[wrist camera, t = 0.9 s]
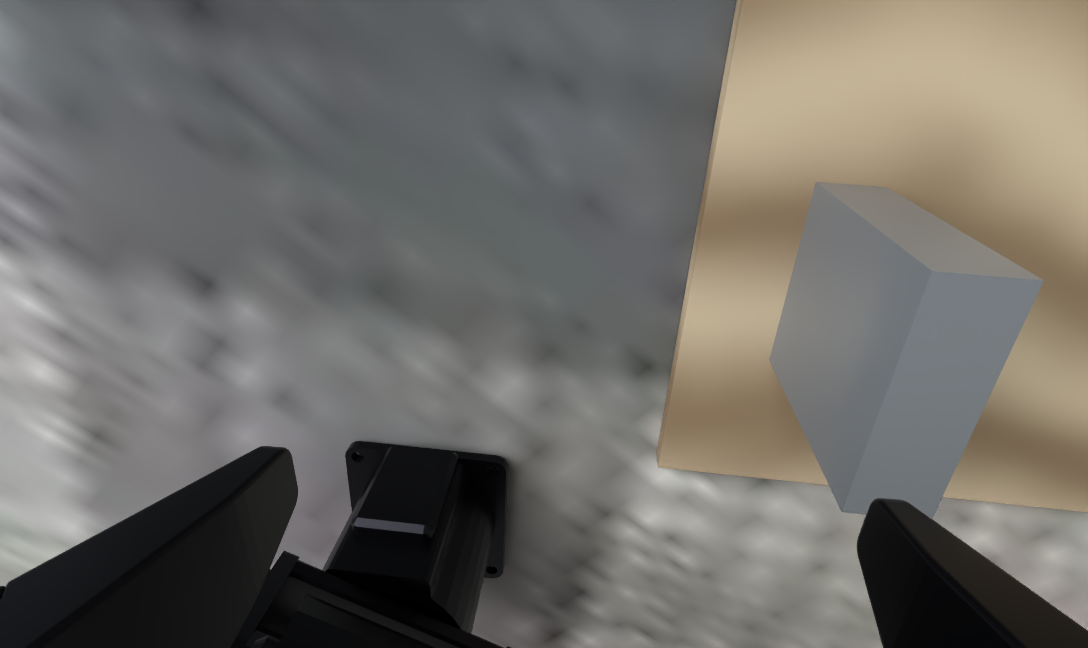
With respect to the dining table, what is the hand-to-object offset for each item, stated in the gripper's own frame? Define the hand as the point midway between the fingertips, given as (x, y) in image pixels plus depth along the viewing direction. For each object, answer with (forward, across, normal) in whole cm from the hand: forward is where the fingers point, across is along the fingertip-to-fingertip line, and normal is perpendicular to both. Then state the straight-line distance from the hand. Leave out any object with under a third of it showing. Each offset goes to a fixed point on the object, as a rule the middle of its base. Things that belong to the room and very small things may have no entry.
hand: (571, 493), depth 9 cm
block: (+11, -7, 0) cm, 13 cm away
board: (+12, -11, 0) cm, 16 cm away
